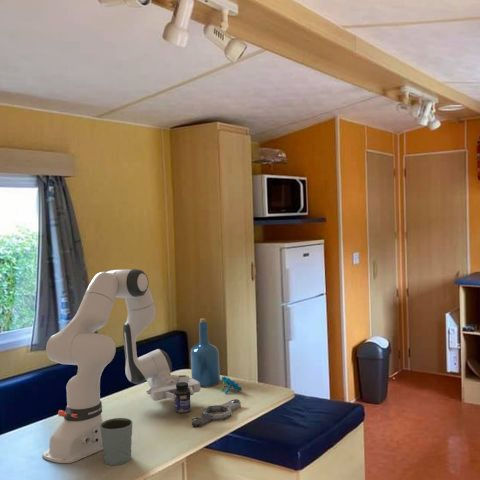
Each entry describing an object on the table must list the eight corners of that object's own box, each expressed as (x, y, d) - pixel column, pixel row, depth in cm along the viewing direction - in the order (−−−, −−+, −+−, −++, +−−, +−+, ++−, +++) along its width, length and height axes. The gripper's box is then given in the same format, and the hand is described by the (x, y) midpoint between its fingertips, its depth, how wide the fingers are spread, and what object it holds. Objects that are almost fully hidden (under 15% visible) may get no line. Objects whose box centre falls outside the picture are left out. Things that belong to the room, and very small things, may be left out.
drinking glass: (96, 460, 183) (94, 424, 182) (123, 449, 190) (120, 415, 189) (113, 469, 175) (111, 431, 175) (140, 458, 183) (138, 422, 182)
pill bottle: (180, 415, 214) (179, 387, 213) (171, 411, 218) (170, 383, 218) (194, 411, 218) (192, 383, 217) (184, 407, 222) (183, 380, 222)
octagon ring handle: (204, 430, 203) (204, 423, 203) (183, 424, 210) (182, 417, 210) (248, 408, 224) (248, 401, 224) (228, 403, 231) (227, 397, 230)
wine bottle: (226, 381, 261) (223, 317, 259) (207, 389, 250) (204, 322, 249) (204, 377, 269) (201, 315, 267) (185, 384, 259) (181, 320, 257)
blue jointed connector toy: (246, 389, 242) (230, 376, 239) (239, 401, 240) (223, 388, 237) (234, 386, 252) (218, 373, 249) (227, 398, 249) (211, 385, 246)
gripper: (144, 383, 223) (157, 392, 211) (191, 374, 234) (206, 382, 222) (145, 399, 224) (158, 408, 212) (191, 389, 234) (206, 397, 222)
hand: (183, 395), depth 217 cm, fingers closed on pill bottle, 6 cm apart
